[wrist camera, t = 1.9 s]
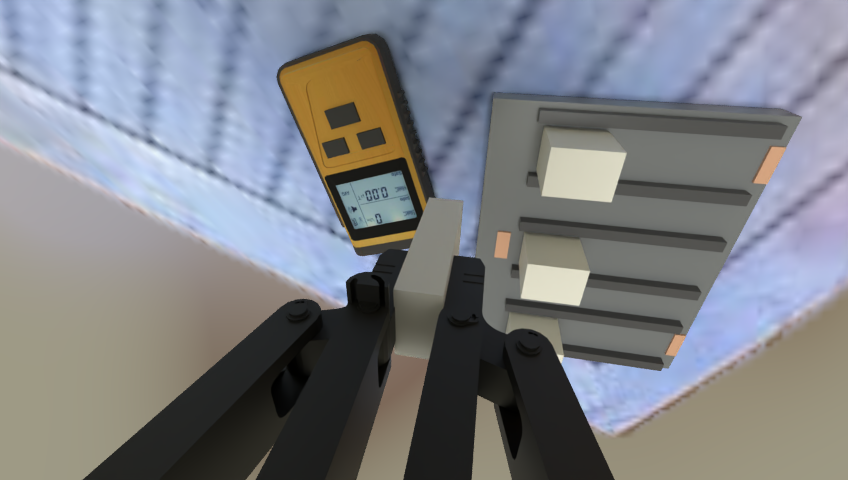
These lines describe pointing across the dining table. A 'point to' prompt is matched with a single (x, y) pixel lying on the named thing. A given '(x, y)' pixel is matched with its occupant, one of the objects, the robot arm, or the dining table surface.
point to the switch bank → (627, 216)
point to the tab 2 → (552, 268)
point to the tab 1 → (579, 163)
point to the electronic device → (360, 140)
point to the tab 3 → (538, 328)
